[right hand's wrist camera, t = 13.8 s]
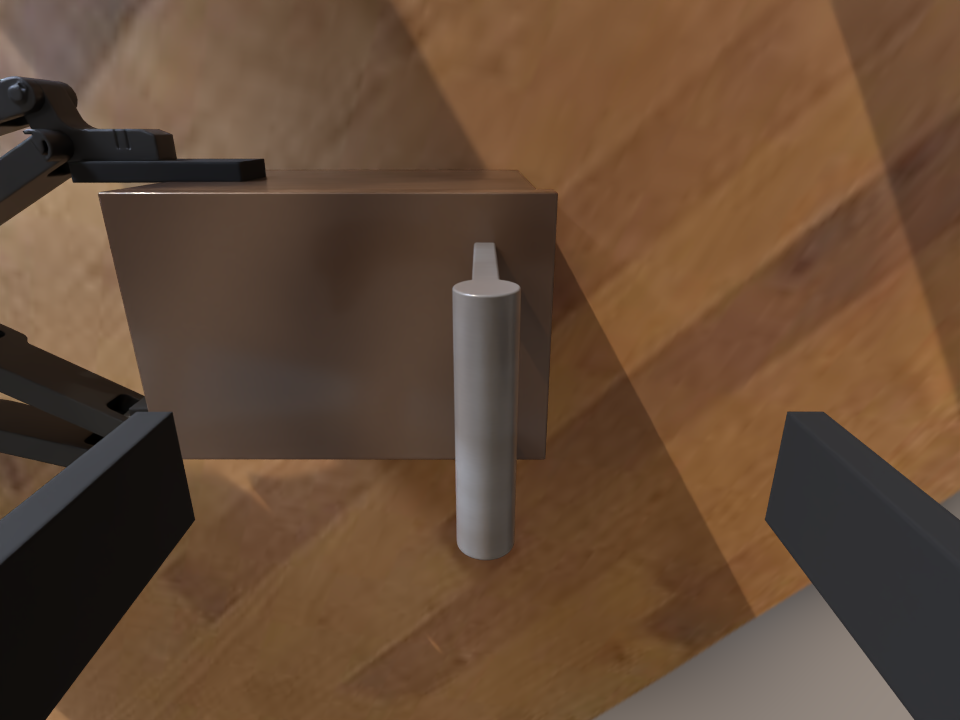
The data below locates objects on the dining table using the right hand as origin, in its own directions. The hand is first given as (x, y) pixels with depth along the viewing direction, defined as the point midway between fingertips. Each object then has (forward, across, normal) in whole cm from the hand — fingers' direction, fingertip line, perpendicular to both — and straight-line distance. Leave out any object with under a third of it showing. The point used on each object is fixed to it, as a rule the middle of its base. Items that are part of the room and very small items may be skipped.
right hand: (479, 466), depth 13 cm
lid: (+9, -5, 0) cm, 10 cm away
